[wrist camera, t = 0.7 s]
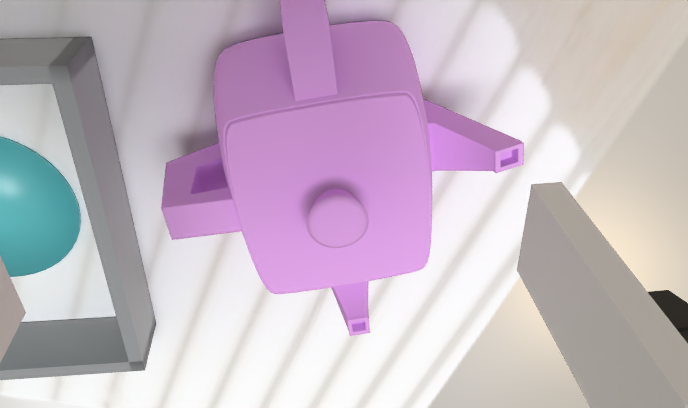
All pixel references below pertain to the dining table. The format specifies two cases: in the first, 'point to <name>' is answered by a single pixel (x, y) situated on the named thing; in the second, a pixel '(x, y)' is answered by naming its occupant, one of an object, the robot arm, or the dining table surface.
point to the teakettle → (326, 157)
